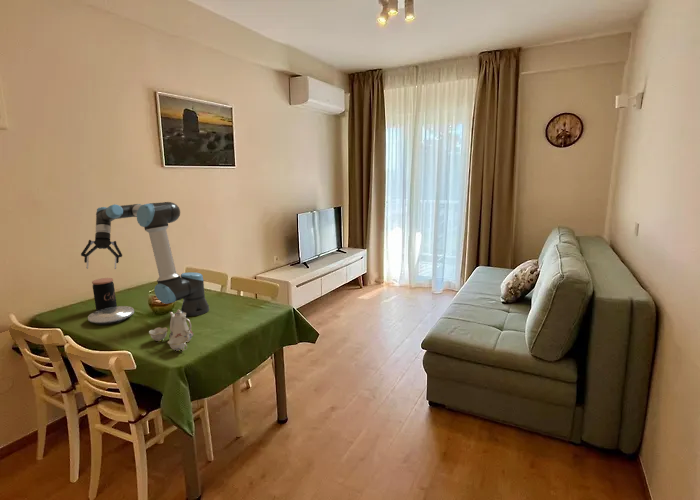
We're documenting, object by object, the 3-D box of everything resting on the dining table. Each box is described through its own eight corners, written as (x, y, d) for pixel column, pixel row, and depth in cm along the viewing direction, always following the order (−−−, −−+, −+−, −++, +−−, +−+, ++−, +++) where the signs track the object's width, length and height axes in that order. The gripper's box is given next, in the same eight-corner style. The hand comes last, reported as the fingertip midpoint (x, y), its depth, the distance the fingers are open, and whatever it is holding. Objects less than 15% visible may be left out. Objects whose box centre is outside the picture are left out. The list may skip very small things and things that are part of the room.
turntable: (142, 308, 226) (142, 306, 226) (116, 323, 205) (116, 320, 205) (107, 307, 229) (107, 305, 228) (78, 322, 207) (77, 319, 207)
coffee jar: (107, 313, 226) (102, 283, 222) (91, 311, 228) (87, 282, 225) (121, 306, 237) (117, 278, 233) (106, 305, 239) (102, 277, 235)
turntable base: (134, 314, 224) (134, 310, 224) (115, 325, 209) (115, 321, 208) (109, 313, 226) (108, 310, 226) (88, 324, 210) (87, 320, 210)
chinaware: (144, 345, 189) (136, 314, 184) (174, 329, 202) (167, 300, 197) (180, 360, 174) (172, 326, 169) (210, 342, 188) (204, 310, 183)
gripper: (127, 236, 239) (126, 269, 234) (77, 234, 226) (75, 269, 221) (127, 232, 233) (126, 266, 228) (76, 229, 220) (74, 266, 215)
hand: (101, 268), depth 224 cm, fingers open, 13 cm apart
